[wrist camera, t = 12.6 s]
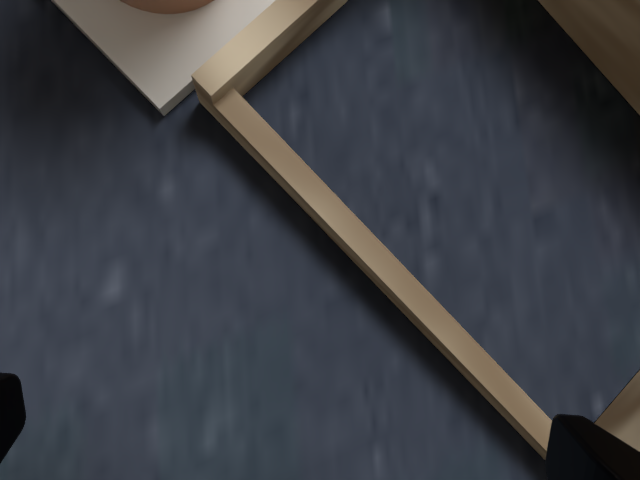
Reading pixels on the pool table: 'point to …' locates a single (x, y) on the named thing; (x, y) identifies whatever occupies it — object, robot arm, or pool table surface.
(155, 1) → the terracotta pot
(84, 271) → the pool table surface
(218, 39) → the paving tile
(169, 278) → the pool table surface
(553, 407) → the pool table surface
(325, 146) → the pool table surface
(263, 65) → the cold frame
